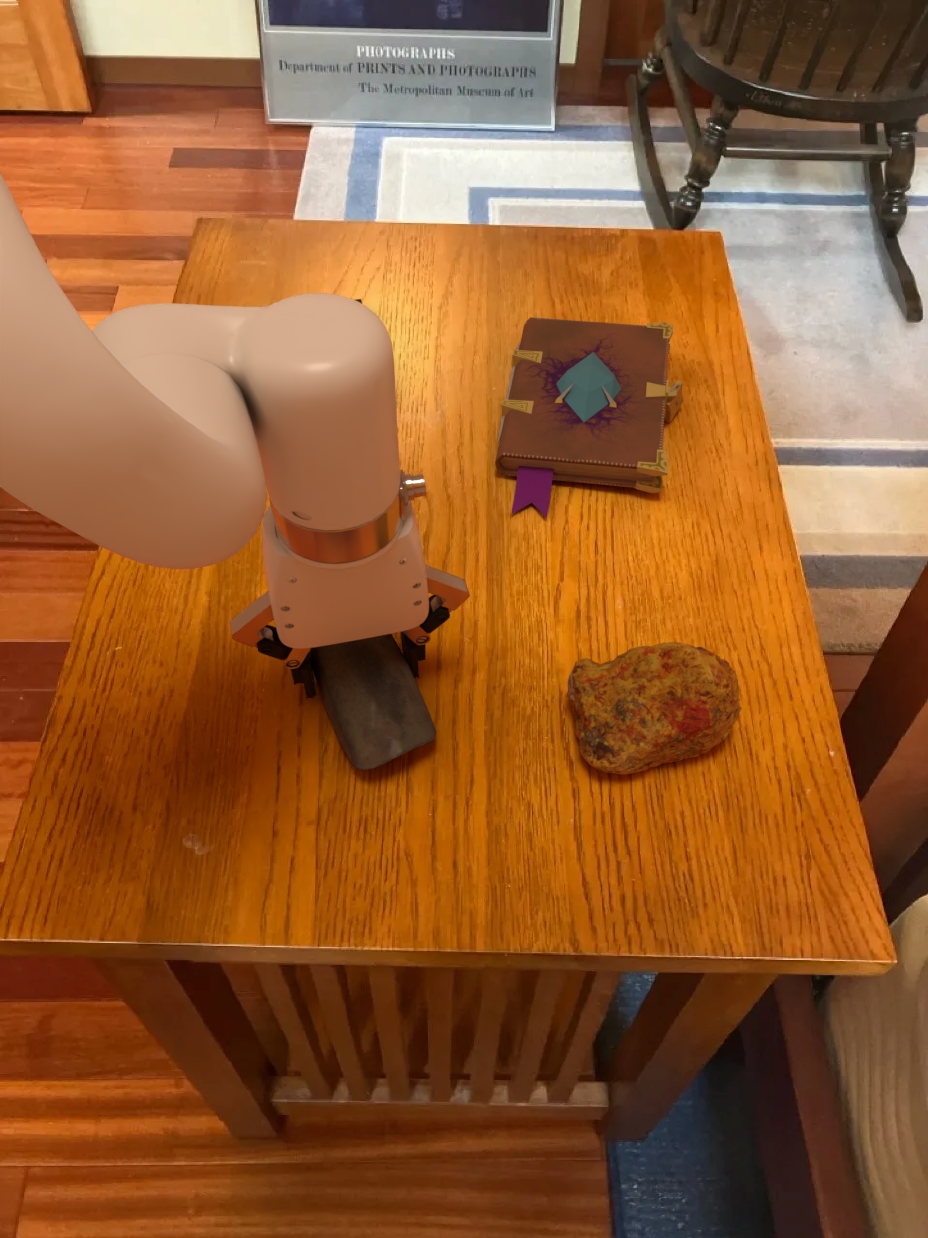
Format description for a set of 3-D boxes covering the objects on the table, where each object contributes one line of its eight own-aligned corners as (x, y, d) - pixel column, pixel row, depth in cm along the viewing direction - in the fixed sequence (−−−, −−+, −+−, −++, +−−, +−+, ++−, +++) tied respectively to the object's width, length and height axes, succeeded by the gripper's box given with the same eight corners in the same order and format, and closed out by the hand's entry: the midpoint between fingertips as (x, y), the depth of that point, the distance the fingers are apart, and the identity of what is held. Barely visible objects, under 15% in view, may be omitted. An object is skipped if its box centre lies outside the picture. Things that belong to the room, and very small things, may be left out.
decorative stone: (445, 756, 65) (445, 727, 62) (359, 791, 64) (355, 762, 60) (357, 582, 75) (354, 548, 71) (280, 608, 73) (273, 575, 69)
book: (484, 520, 80) (483, 478, 76) (521, 344, 95) (522, 301, 91) (676, 539, 78) (686, 497, 74) (683, 356, 93) (692, 313, 89)
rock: (656, 811, 68) (574, 775, 61) (611, 725, 73) (532, 684, 67) (779, 718, 64) (704, 669, 57) (721, 635, 70) (648, 582, 63)
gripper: (467, 439, 58) (463, 611, 72) (181, 482, 55) (236, 652, 69) (497, 527, 53) (486, 692, 68) (189, 579, 51) (246, 739, 65)
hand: (359, 671), depth 68 cm, fingers closed on decorative stone, 6 cm apart
